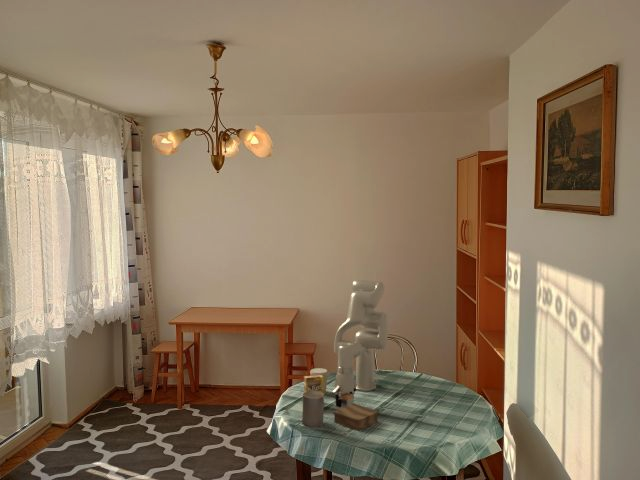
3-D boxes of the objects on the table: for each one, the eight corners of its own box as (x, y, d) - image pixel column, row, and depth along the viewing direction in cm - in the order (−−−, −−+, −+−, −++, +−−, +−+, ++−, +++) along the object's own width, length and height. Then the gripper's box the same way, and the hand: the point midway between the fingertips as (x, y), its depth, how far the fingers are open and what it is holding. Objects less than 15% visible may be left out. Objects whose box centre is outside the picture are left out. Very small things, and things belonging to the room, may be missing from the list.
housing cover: (342, 395, 290) (342, 390, 290) (353, 398, 286) (353, 393, 285) (336, 397, 287) (336, 392, 287) (347, 400, 282) (347, 395, 282)
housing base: (342, 404, 291) (342, 394, 291) (353, 408, 286) (353, 398, 286) (335, 407, 287) (336, 397, 287) (346, 410, 283) (346, 400, 282)
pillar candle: (299, 421, 268) (299, 389, 267) (318, 418, 272) (319, 386, 271) (307, 429, 259) (307, 396, 258) (327, 425, 263) (327, 393, 262)
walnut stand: (353, 413, 278) (353, 403, 278) (378, 422, 268) (378, 411, 268) (332, 422, 267) (333, 411, 267) (358, 431, 257) (358, 420, 257)
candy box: (305, 408, 284) (306, 378, 283) (303, 405, 288) (303, 375, 287) (322, 407, 287) (323, 376, 286) (320, 404, 291) (320, 374, 290)
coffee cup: (330, 392, 310) (331, 369, 309) (321, 396, 302) (321, 374, 301) (316, 388, 314) (316, 367, 314) (306, 393, 307) (306, 371, 306)
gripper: (350, 364, 294) (350, 398, 296) (327, 371, 282) (327, 406, 283) (362, 367, 289) (361, 401, 290) (339, 375, 277) (339, 410, 278)
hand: (344, 404), depth 287 cm, fingers open, 8 cm apart
